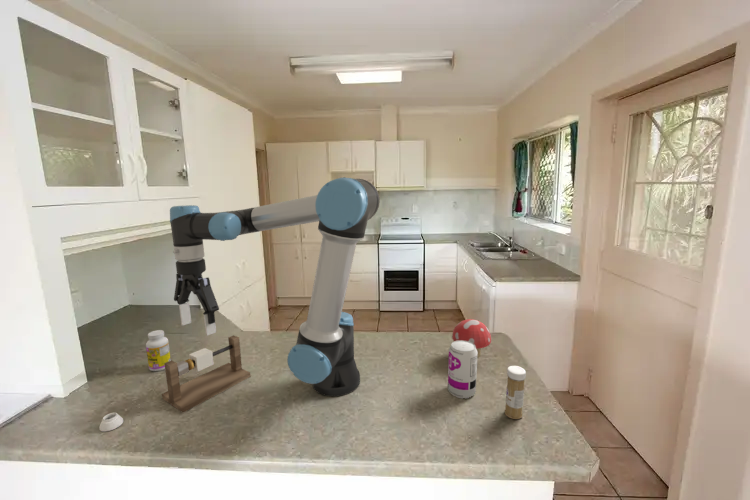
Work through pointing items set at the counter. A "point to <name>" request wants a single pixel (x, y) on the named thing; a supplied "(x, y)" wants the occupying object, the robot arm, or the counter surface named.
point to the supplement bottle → (157, 350)
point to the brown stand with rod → (203, 379)
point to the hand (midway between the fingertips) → (198, 328)
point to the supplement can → (462, 369)
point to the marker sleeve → (202, 359)
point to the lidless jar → (110, 422)
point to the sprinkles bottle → (515, 392)
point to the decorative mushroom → (472, 334)
